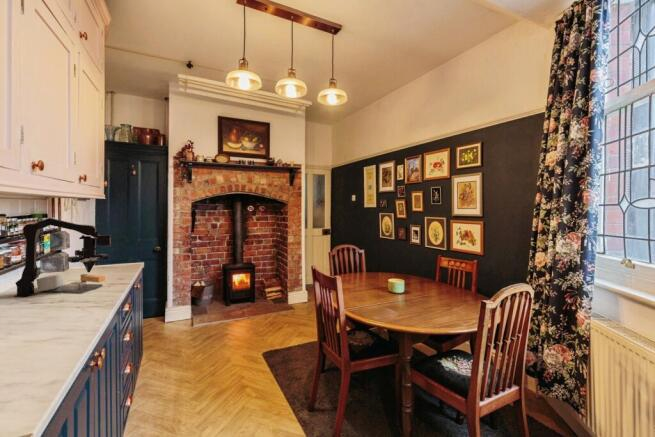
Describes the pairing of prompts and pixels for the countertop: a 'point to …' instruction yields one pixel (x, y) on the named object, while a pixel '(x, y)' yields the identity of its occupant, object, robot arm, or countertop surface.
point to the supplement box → (50, 282)
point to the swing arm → (92, 278)
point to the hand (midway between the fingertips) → (88, 272)
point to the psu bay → (80, 290)
